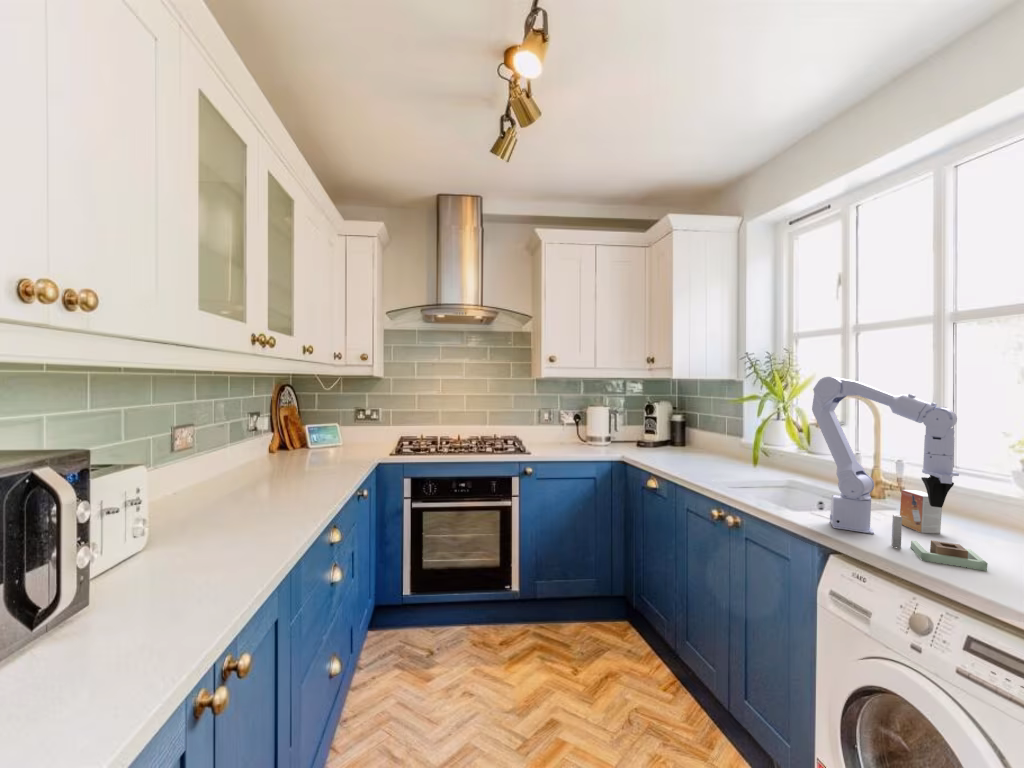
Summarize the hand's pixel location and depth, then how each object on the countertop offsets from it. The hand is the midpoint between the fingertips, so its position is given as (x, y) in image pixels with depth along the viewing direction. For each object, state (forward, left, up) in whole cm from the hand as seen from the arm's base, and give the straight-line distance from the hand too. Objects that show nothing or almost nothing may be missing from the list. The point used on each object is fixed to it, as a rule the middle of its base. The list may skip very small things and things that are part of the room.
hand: (936, 506), depth 123 cm
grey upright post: (-9, -6, -10) cm, 15 cm away
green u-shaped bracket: (0, -9, -10) cm, 14 cm away
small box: (+1, +18, -11) cm, 21 cm away
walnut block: (0, -11, -10) cm, 15 cm away
